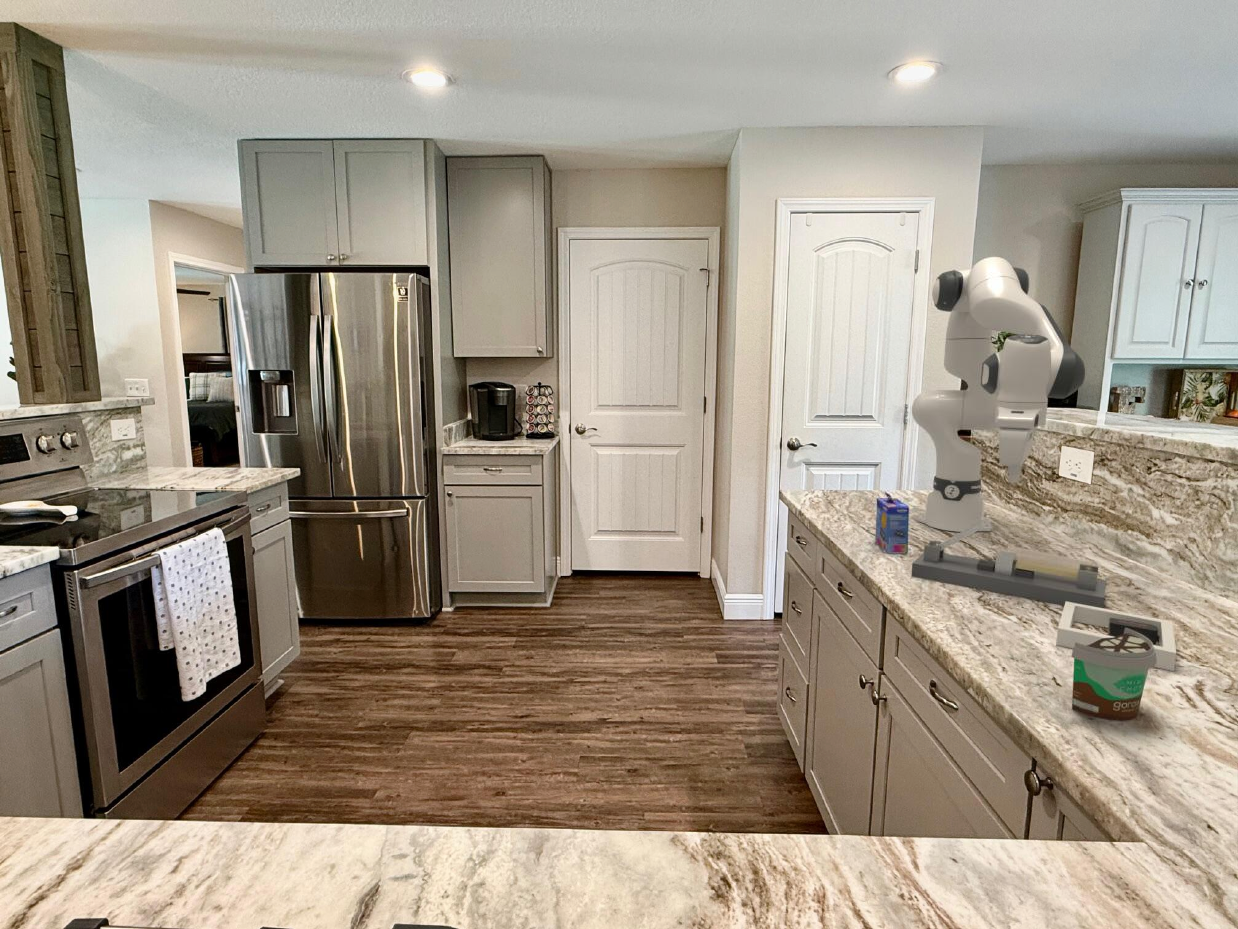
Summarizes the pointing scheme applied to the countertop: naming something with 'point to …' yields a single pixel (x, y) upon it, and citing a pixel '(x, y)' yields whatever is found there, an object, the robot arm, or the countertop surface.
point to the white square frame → (1101, 619)
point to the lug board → (1010, 577)
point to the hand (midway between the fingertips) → (1013, 481)
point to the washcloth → (1044, 558)
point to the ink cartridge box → (892, 525)
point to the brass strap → (1048, 568)
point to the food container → (1112, 675)
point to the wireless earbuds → (1119, 626)
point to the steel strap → (961, 535)
